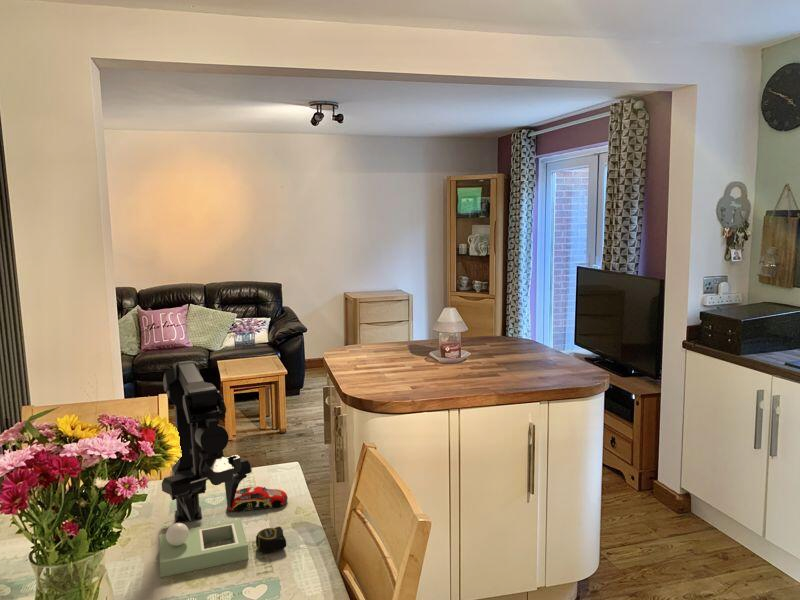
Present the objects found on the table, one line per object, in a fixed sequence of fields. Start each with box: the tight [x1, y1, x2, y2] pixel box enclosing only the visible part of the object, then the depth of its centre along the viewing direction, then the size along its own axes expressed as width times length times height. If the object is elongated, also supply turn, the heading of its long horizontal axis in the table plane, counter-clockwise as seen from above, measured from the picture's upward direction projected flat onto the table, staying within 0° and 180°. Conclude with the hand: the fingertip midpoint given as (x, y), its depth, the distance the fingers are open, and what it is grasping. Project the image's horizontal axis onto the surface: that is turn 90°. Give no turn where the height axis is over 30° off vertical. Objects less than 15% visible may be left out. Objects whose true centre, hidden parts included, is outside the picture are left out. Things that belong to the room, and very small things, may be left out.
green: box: [159, 519, 249, 578], centre depth 142 cm, size 13×19×4 cm
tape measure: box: [255, 526, 287, 553], centre depth 145 cm, size 7×7×4 cm
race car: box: [226, 485, 288, 513], centre depth 167 cm, size 16×7×5 cm, turn 101°
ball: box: [165, 522, 189, 546], centre depth 140 cm, size 5×5×5 cm
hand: (211, 513), depth 134 cm, fingers open, 9 cm apart
